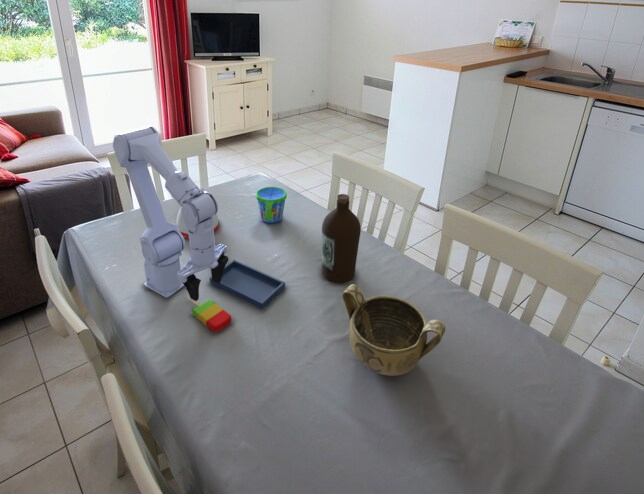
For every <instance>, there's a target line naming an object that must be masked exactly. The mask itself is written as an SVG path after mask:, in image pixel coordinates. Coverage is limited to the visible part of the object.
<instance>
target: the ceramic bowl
mask: <svg viewBox="0 0 644 494" xmlns="http://www.w3.org/2000/svg"><path fill="white" fill-rule="evenodd" d="M342 300H343V302H344V305H345V309H346V311H347V314H348V318H349V325H348V326H349V327H348V336H349V337H348V338H349V344H350V347H351V349H352V352H353V355H355V357H356V359H357V360H358V361H359V362H360V363H361V365H363V366H364V367H365V368H366V369H368V370H370V371H371V372H374V373H376V374H379V375H382V376H389V377H390V376H391V377H396V376H401V375H405V374H408V373H409V372H411V371H412V370H414V369H415V367H416V366H417V365H418V364H419V362H420V360H421V359H422V358H423V357H425V356H426V355H427V354H429V353H430V352H431V351H432V350H433V349H434V348H436V347H437V346H438V345H439V344H440V343H441V341H442V339H443V336H444V334H445V332H446V325H445V323H444V322H443V321H441V320H439V319H431V320H429V321H426V318H425V316H424V314H423V313H422V311H421V310H420V309H419V308H418V307H417V306H415V305H414V304H413V303H411V302H410V301H407V300H405V299H402V298H399V297H397V296H392V295H376V296H371V297H369V298H365V296H364V293H363V292H362V290H361V288H360V287H359V286H358V285H357V284H354V283H353V284H350V285H349V286H348V287H347V288H346V289H345V290H344V291H343V292H342ZM428 333H435V334H436V335H435V336H434V337H433V338H432V339H430V341H428ZM427 341H428V342H427Z"/></svg>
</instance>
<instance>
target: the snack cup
mask: <svg viewBox="0 0 644 494" xmlns="http://www.w3.org/2000/svg"><path fill="white" fill-rule="evenodd" d="M287 196H288V195H287V190H285V189H284V188H282V187H278V186H266V187H262V188H260V189H258V190H257V191H256V192H255V198H256V200H257V204H258V210H259V215H260V220H261V221H262V222H265V223H267V224H276V223H278V222H281V220H282V219H283V215H284V210H285V204H286V199H287Z"/></svg>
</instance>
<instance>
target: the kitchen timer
mask: <svg viewBox="0 0 644 494" xmlns="http://www.w3.org/2000/svg"><path fill="white" fill-rule="evenodd" d="M202 189H203V190H204V191H205V189H204V188H202ZM180 209H181V207H180V208H179V210H178V212H177V217H176V223H175V225H177V227H178V229H179V231H180V233H181V234H182V235H183V237H184V239H185V238H186V239H189V233H188V229H187V228H186V226H185V221H184V219H183V217H182V214H181V210H180ZM212 217H213V227H214V234H215V233H216V232H217V231H218V229H219V227H220V226H219V218H218V213H216V214H215V215H214V216H212Z"/></svg>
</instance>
